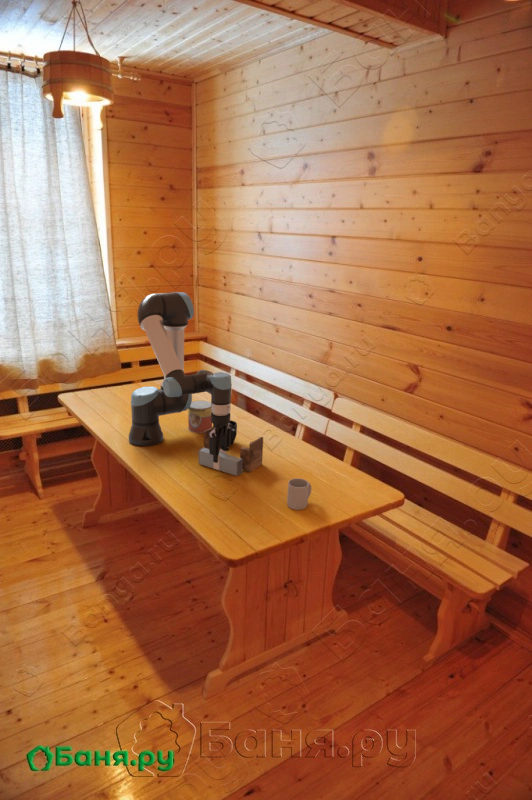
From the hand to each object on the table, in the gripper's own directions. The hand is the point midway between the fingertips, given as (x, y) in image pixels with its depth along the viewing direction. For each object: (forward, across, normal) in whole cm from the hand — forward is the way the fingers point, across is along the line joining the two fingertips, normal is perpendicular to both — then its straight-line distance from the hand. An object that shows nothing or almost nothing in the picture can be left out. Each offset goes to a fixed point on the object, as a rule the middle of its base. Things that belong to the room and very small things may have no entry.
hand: (219, 467), depth 229 cm
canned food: (+2, +30, +33) cm, 44 cm away
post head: (+1, +9, +9) cm, 12 cm away
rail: (0, 0, 0) cm, 1 cm away
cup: (0, -7, -40) cm, 41 cm away
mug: (+1, +22, +11) cm, 24 cm away
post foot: (+1, +9, -9) cm, 13 cm away
